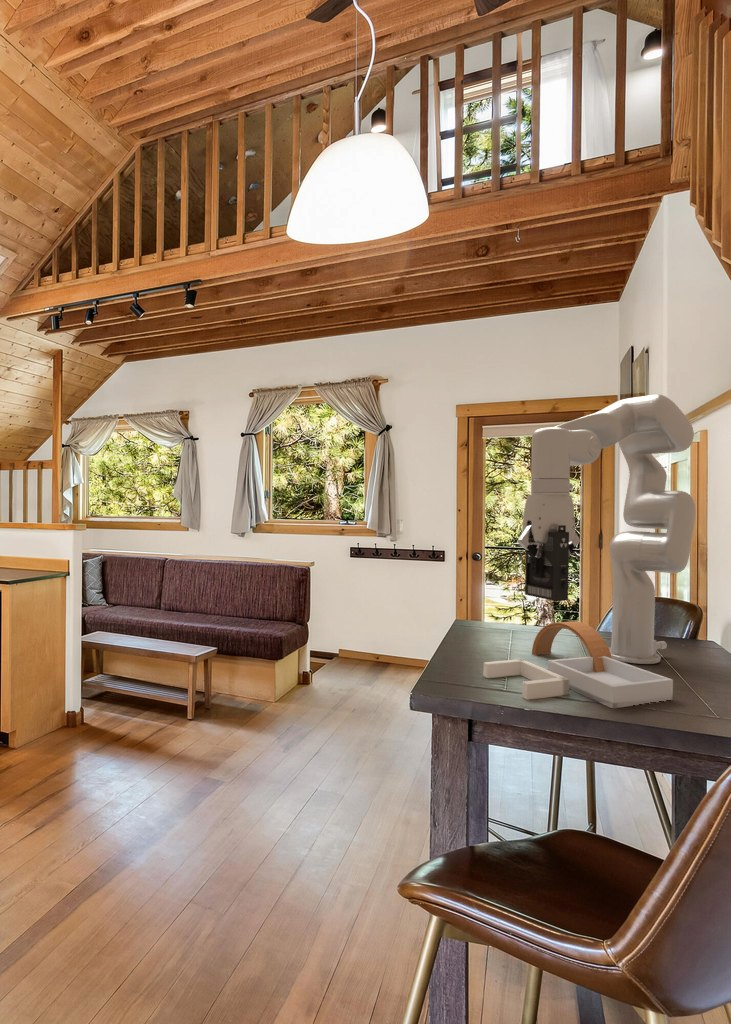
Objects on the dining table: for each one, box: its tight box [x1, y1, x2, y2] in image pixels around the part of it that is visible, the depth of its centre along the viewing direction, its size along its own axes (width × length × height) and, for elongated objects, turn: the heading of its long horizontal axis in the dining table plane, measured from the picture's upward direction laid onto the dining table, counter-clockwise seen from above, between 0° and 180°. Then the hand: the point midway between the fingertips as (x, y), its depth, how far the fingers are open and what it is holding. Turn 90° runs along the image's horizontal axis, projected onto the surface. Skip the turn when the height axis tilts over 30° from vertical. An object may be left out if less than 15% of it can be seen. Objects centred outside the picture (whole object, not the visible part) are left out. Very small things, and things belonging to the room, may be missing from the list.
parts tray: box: [546, 655, 674, 710], centre depth 110 cm, size 15×18×4 cm
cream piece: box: [482, 658, 570, 701], centre depth 111 cm, size 10×15×3 cm, turn 21°
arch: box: [531, 620, 612, 672], centre depth 128 cm, size 6×20×10 cm, turn 25°
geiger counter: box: [524, 525, 570, 602], centre depth 111 cm, size 10×4×15 cm, turn 27°
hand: (548, 575), depth 111 cm, fingers closed on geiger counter, 5 cm apart
